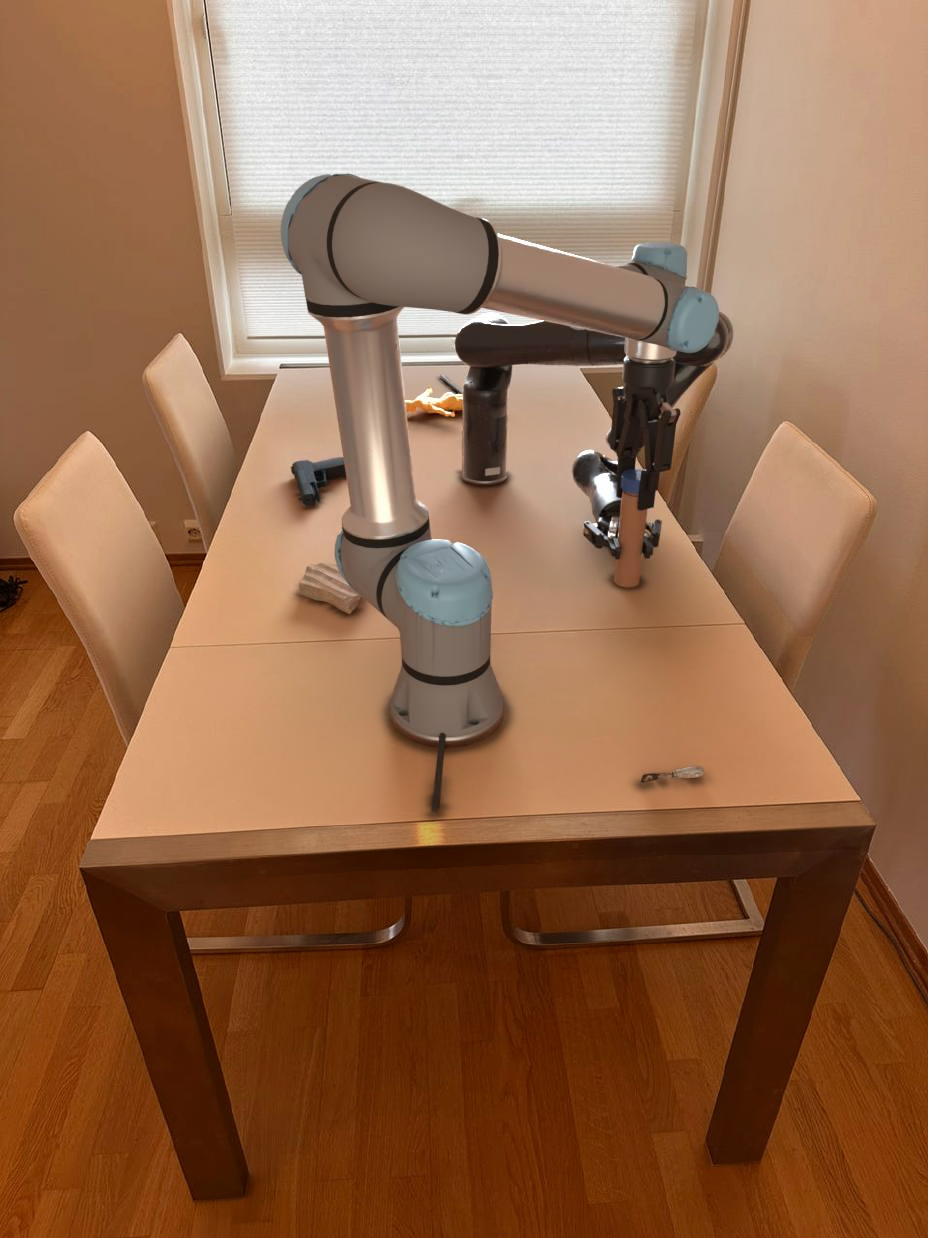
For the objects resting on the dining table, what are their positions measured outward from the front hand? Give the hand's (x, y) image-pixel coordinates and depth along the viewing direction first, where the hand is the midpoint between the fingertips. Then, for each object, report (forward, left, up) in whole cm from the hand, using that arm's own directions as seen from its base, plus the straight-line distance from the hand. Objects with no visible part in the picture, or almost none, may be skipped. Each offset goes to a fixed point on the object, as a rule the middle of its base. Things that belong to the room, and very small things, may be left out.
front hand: (634, 501), depth 143 cm
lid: (0, 0, +4) cm, 4 cm away
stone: (-14, +47, -15) cm, 51 cm away
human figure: (+79, +49, -15) cm, 94 cm away
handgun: (+27, +64, -15) cm, 71 cm away
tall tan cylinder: (0, 0, -15) cm, 15 cm away
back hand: (-3, -1, -8) cm, 8 cm away
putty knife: (-49, -8, -15) cm, 52 cm away
